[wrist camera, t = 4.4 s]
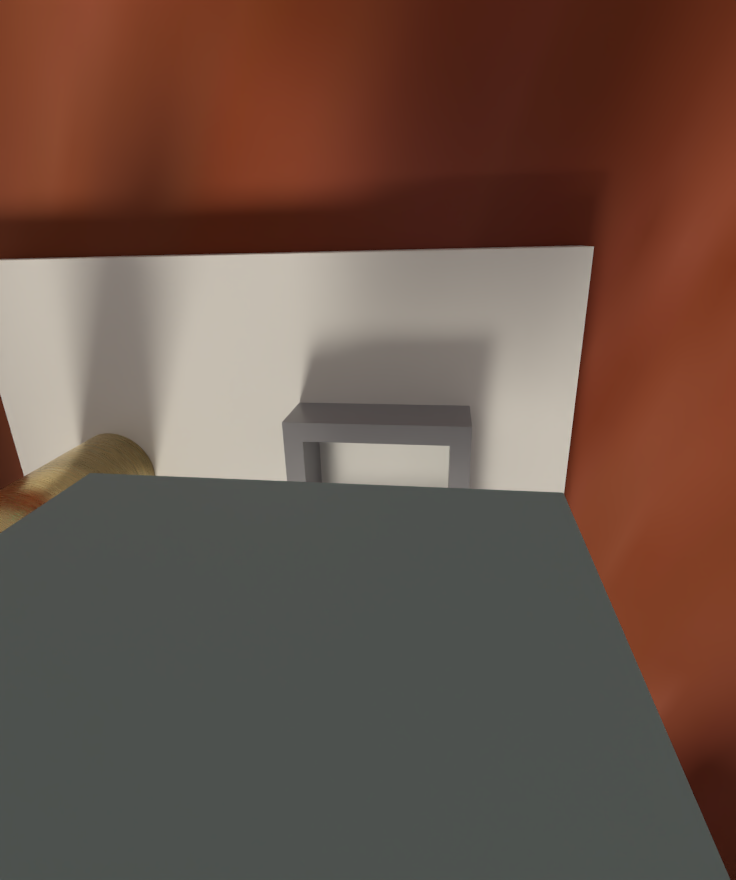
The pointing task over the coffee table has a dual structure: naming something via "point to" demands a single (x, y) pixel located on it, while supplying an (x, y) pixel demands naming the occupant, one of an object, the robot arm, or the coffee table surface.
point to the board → (304, 362)
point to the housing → (324, 691)
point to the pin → (72, 473)
